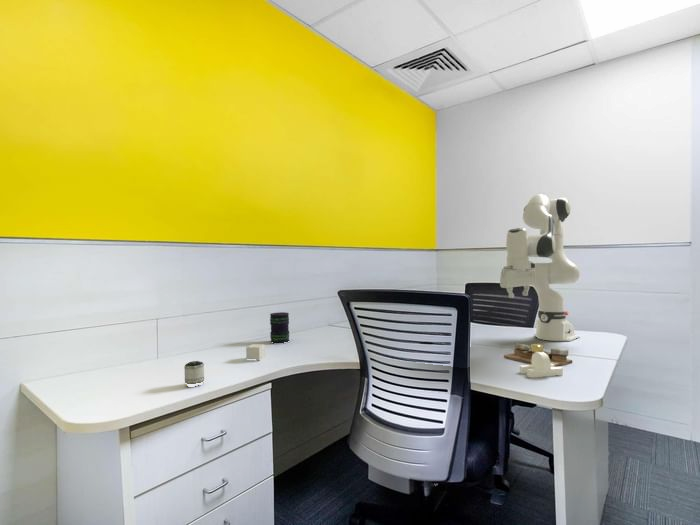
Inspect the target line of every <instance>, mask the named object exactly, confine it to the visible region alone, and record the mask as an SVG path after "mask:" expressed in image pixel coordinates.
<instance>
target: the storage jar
mask: <svg viewBox="0 0 700 525" xmlns="http://www.w3.org/2000/svg"><path fill="white" fill-rule="evenodd" d="M289 323H290V317H289V312H284V311H283V312H273V313H272V312H271V313H270V315H269V324H270V333H269V334H270V335H269V336H270V338H269V339H270V343H271V342H273V343H283V344H285V343H284V342H288V341H289V342H290V330H289V328H290V327H289ZM289 342H288V343H289ZM273 343H272V344H273Z"/></svg>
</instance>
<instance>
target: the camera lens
mask: <svg viewBox="0 0 700 525" xmlns="http://www.w3.org/2000/svg"><path fill="white" fill-rule="evenodd" d="M183 367H184V383H187V384H196V383H201V382H203V381H204V382H205V364H204V362H203V361H198V360H195V361H194V360H193V361H190V362H188V363H186V364H184V366H183ZM204 382H203V383H204Z"/></svg>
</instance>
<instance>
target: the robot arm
mask: <svg viewBox="0 0 700 525" xmlns="http://www.w3.org/2000/svg"><path fill="white" fill-rule="evenodd" d="M570 213H571V203H570V202H569V200H568V199H567V198H565V197H558V198H548V196H546V195H543V194H536V195H534V196H533V197H532V198H531V199H529V200H528V202H527V204H526V205H525V207H524V208H523V213H522V220H523V222H524V224H526V226H528V227H529V228H531V229H534V230H540V231H539V234H538V235H528V233H527V229H526V228H523V227H518V228H517V227H516V228H512V229H509V230H508V231H507V233H506V234H507V235H506V252H507V255H506V265H505V266H503V268H502V269H501V273H500V280H499V281H500V282H499V286H500V288H503V289H506V293H508V298H509V299H513V298H515V293H513V290H514V288H517V287H523V290H522V292H521V293H522V296H523V297H527V296H529V291H530V286H532V287H533V288H534V290H535V292H536V294H537V297H538V298H537V300H538V311H537V317H538V319H537V321H536V329H535V333H534V335H535V336H534V337H537V338H536V339H540V340H544V341H553V342H554V341H555V342H573V341H575V340H577V339H579V338H580V336H581V335H579V334H575V326H574V325H573V323H571V322H569V320H568V319H567V317H566V316H569V314H570V313H569V311H564V297H563V295H562V294H561V293H559V292H558V291H556V290H554V289H552V288H551V287H550V285H567V284H574V283H576V282H577V281H578V280H579V279H580V275H581V274H580V273H581V272H580V269H579V267H578V265H576V264H575V263H573V262H572V261H571V260H570V259H569V258H568V257H567V256H566V253H565V249H564V229H563V224H562V223H564V222H565V221H566V219H567V218H568V217H569V216H570ZM529 258H547V259H550V260H551V262H534V261H533V262H532V261H530V259H529ZM576 338H577V339H576Z"/></svg>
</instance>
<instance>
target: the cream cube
mask: <svg viewBox="0 0 700 525" xmlns="http://www.w3.org/2000/svg"><path fill="white" fill-rule="evenodd" d="M245 351H246V352H245V353H246V354H245V355H246V358H245V359H256V360H260V359H262V358H263V357H265V358H266V344H258V343H257V344H256V343H253V344H250V345H248V346H246V347H245Z"/></svg>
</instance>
